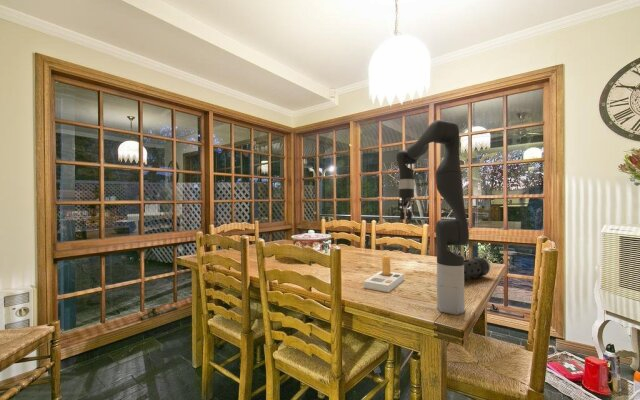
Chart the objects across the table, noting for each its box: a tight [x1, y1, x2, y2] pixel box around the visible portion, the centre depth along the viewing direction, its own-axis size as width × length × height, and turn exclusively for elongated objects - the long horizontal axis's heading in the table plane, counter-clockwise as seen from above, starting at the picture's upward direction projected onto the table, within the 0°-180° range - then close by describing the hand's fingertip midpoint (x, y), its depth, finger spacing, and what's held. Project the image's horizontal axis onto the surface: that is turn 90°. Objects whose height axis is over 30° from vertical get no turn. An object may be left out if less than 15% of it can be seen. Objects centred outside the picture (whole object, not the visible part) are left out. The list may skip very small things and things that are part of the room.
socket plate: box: [363, 270, 405, 293], centre depth 136 cm, size 22×12×3 cm, turn 146°
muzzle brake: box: [464, 256, 491, 280], centre depth 141 cm, size 10×28×10 cm, turn 116°
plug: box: [381, 255, 391, 277], centre depth 142 cm, size 4×4×12 cm
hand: (405, 219), depth 145 cm, fingers open, 8 cm apart
